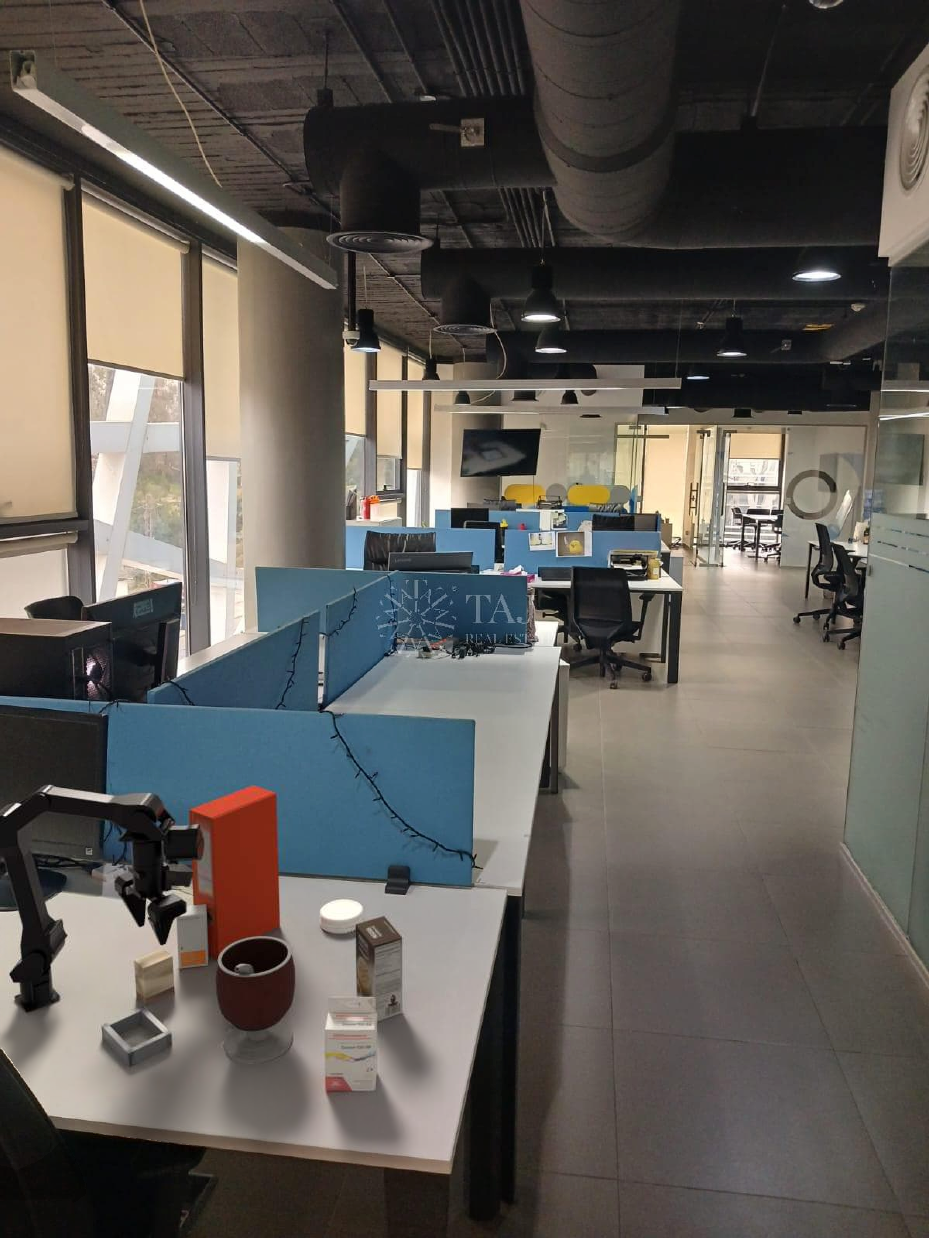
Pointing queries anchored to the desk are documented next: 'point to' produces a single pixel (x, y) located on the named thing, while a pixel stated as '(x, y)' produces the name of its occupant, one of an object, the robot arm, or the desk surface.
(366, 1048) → the ink cartridge box
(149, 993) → the block
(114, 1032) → the collar
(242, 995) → the mate gourd
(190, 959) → the skincare box
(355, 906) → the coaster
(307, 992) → the desk surface
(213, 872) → the file binder
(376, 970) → the coffee box
